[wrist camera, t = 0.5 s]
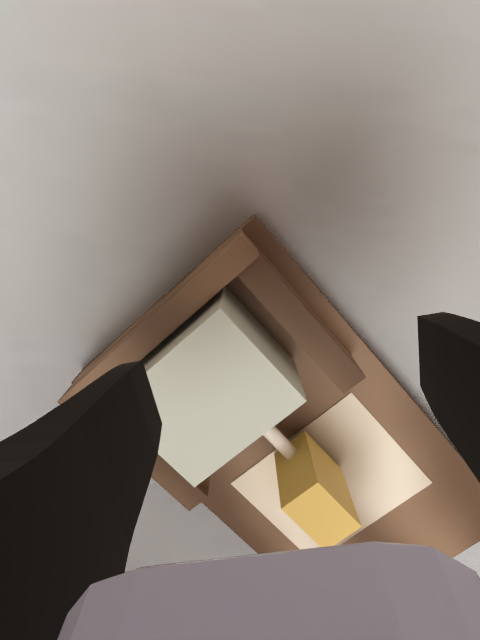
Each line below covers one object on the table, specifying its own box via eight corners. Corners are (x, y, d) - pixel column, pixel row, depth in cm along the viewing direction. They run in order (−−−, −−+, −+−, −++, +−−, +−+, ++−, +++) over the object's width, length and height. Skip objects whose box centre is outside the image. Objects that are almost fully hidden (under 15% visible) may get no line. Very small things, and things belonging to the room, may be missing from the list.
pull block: (281, 511, 23) (289, 575, 19) (131, 366, 21) (106, 406, 17) (372, 446, 22) (400, 500, 18) (224, 284, 20) (219, 308, 16)
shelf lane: (334, 605, 28) (351, 682, 23) (81, 370, 23) (44, 413, 19) (498, 500, 25) (551, 565, 21) (254, 214, 21) (257, 222, 16)
